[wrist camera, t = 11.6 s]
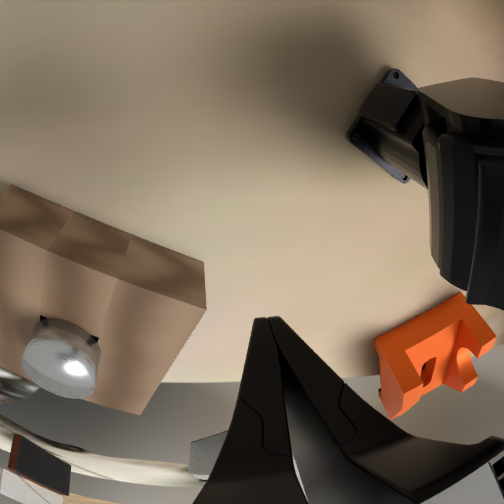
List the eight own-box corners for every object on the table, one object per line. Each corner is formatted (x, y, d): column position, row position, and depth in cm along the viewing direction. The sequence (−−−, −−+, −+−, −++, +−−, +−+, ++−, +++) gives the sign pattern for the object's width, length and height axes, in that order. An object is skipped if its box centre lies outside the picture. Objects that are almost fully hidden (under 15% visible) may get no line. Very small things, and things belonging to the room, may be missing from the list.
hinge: (209, 450, 44) (201, 496, 34) (191, 435, 43) (180, 483, 33) (297, 418, 40) (303, 471, 31) (281, 401, 39) (284, 456, 30)
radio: (13, 433, 38) (3, 494, 26) (21, 434, 38) (11, 497, 26) (67, 467, 49) (64, 519, 36) (76, 468, 49) (73, 521, 36)
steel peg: (118, 291, 22) (100, 370, 16) (104, 334, 25) (90, 406, 18) (55, 266, 20) (19, 339, 14) (48, 313, 23) (23, 381, 16)
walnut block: (203, 262, 23) (206, 309, 19) (142, 374, 29) (139, 415, 25) (11, 184, 16) (-25, 217, 12) (5, 324, 23) (-11, 360, 19)
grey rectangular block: (62, 496, 76) (62, 516, 67) (49, 493, 77) (48, 513, 68) (3, 468, 58) (0, 491, 49) (-8, 465, 59) (-11, 487, 50)
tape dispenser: (373, 335, 32) (403, 393, 25) (459, 290, 31) (496, 336, 24) (378, 395, 42) (397, 437, 35) (443, 360, 41) (466, 398, 34)
